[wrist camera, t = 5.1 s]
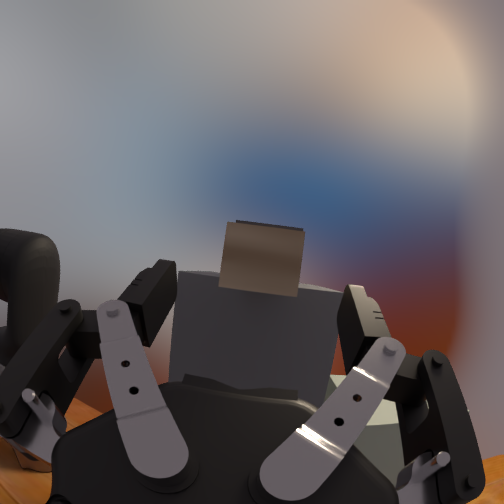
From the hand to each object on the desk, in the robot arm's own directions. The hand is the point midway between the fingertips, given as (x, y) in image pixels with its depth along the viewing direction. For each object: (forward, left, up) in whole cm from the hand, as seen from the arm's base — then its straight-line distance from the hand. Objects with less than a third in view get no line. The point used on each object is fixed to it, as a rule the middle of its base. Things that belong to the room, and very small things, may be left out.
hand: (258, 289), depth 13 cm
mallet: (+7, +4, 0) cm, 8 cm away
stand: (+11, +6, -32) cm, 34 cm away
